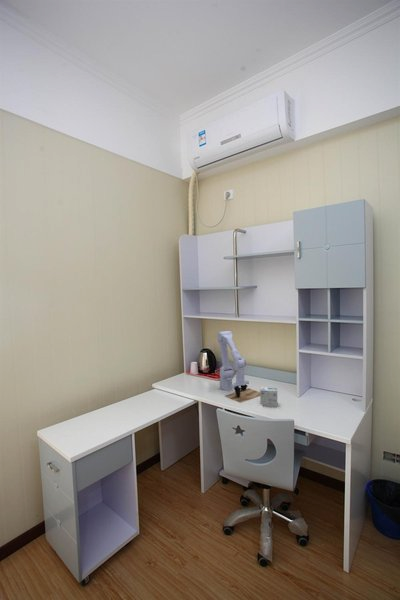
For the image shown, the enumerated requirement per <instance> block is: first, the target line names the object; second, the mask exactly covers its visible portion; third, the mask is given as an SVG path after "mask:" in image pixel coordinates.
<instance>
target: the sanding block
mask: <svg viewBox="0 0 400 600" xmlns="http://www.w3.org/2000/svg"><path fill="white" fill-rule="evenodd" d="M234 393H235V396H237V395H236V392H235V391H234ZM245 397H246V391H244V390H241V389H240V397H239V398H245Z"/></svg>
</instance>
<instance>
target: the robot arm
mask: <svg viewBox="0 0 400 600" xmlns="http://www.w3.org/2000/svg"><path fill="white" fill-rule="evenodd" d="M233 338H234V336H233V332H232V331H231V330H225V331H218V333H217V342H218V344H219V349H220V356H221V364H222V366H220V368H219V377H220V378H219V389H218V390H222V391H226V392H228V391H232V390H234V393H235V392H236V395H237V397H240V389H241V390H244V391H246V389H248V385H249V383H250V381H249V380H246V379H245V367H246V365H247V362H246V359H245V358H244V357H242V355H241V353H240V351H239V349H236V346H235V343H234V339H233ZM227 346H228V347H227ZM228 348H229V349H230V351H231V352H230V354H231V357H232V359H233V365H234V367H233V366H231V364H230V360H229V350H228ZM234 369H235V370H234ZM234 377H235V383H233V379H234Z"/></svg>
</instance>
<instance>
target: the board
mask: <svg viewBox="0 0 400 600" xmlns="http://www.w3.org/2000/svg"><path fill="white" fill-rule="evenodd" d="M224 397H226V398H228V399H230V400H232V401H235V402H238V403H239V404H241V403H244V402H247V401H250V400H253V399H256V398H258V397H259V398H260V391H258V390H254V389H252V388H249V387H247V388H246V397H245V398H239V397H237V396H235V392H232V393H229V394H226V395H224Z"/></svg>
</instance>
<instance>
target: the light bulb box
mask: <svg viewBox="0 0 400 600" xmlns="http://www.w3.org/2000/svg"><path fill="white" fill-rule="evenodd" d="M259 392H260V396H259V399H260V400H259V401H260V405H261V407H269V408H277V407H278V388H277V387H272V386H271V387H270V386H267V387H266V386H260V390H259Z"/></svg>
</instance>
